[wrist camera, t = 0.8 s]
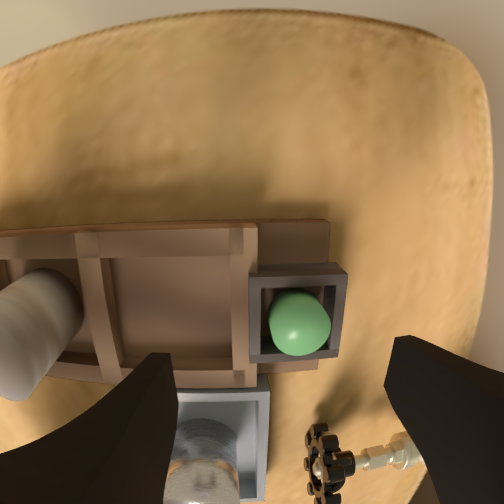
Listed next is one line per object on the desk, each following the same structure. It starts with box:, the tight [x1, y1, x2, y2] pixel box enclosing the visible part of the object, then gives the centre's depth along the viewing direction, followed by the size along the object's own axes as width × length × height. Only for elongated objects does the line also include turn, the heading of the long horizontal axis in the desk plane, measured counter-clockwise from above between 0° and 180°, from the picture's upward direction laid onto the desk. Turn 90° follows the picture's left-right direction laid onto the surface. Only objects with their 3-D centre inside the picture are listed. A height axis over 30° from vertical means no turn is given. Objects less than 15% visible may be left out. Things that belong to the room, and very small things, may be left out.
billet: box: [163, 418, 240, 504], centre depth 16 cm, size 4×4×6 cm
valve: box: [304, 423, 426, 504], centre depth 17 cm, size 7×7×12 cm
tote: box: [176, 373, 270, 502], centre depth 18 cm, size 12×8×2 cm
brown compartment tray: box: [0, 219, 348, 401], centre depth 13 cm, size 8×20×7 cm, turn 90°
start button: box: [267, 288, 331, 356], centre depth 14 cm, size 3×3×2 cm
